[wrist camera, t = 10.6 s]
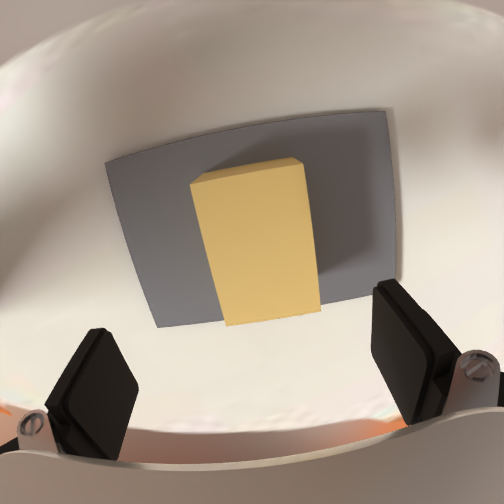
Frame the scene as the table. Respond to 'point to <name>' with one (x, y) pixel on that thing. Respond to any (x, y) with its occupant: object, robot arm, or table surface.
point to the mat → (248, 152)
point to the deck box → (259, 240)
